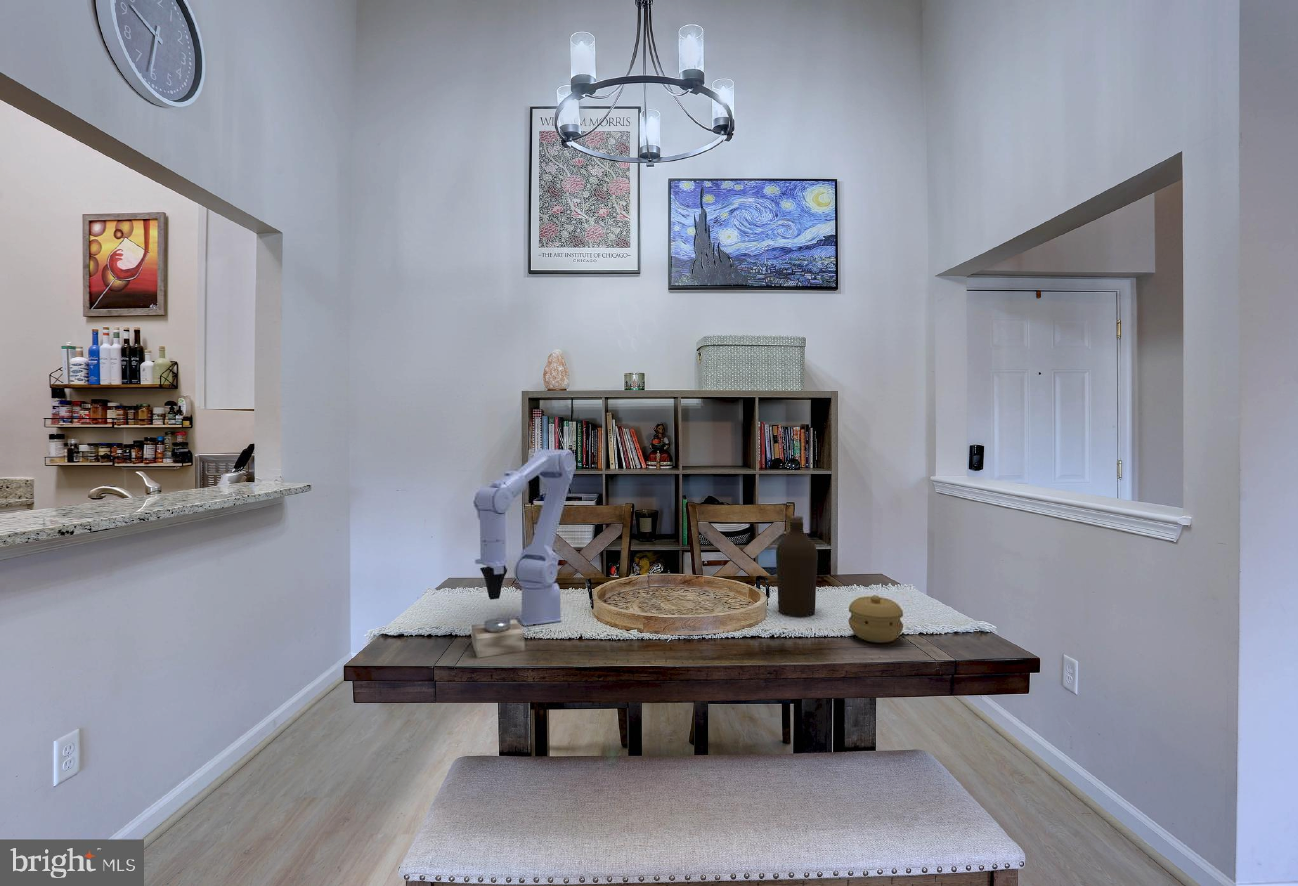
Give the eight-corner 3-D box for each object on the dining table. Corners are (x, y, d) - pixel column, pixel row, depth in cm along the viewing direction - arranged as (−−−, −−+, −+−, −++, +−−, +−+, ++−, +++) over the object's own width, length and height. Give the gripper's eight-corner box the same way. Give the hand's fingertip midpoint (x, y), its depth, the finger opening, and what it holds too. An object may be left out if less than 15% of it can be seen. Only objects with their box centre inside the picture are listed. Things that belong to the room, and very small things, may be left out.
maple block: (516, 636, 144) (515, 619, 144) (524, 650, 135) (524, 632, 135) (471, 642, 140) (471, 625, 140) (477, 657, 131) (477, 639, 131)
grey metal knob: (508, 638, 141) (507, 616, 141) (512, 646, 136) (512, 624, 136) (482, 642, 139) (482, 620, 139) (486, 650, 134) (486, 627, 134)
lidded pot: (879, 628, 148) (879, 586, 148) (915, 644, 137) (915, 600, 137) (837, 633, 144) (837, 591, 144) (870, 651, 133) (871, 605, 133)
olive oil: (796, 620, 154) (796, 521, 153) (767, 610, 163) (767, 515, 162) (826, 613, 159) (826, 517, 159) (796, 603, 168) (796, 512, 168)
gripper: (470, 535, 146) (472, 592, 147) (479, 547, 133) (481, 609, 133) (500, 533, 149) (502, 589, 150) (512, 544, 136) (513, 605, 136)
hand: (494, 598), depth 142 cm, fingers closed
